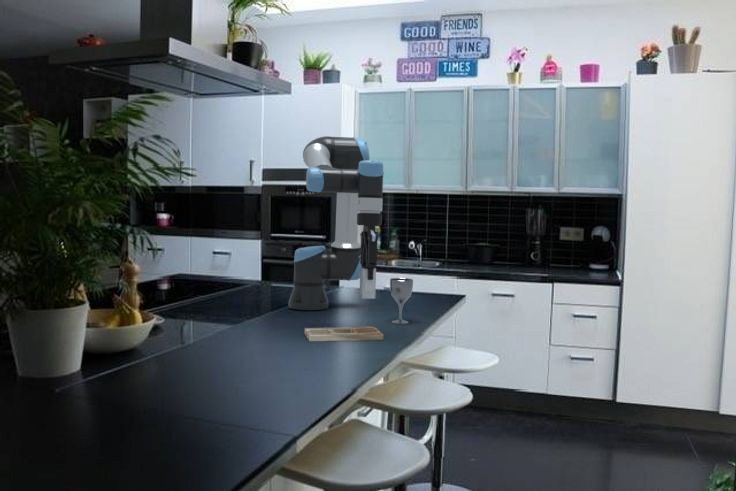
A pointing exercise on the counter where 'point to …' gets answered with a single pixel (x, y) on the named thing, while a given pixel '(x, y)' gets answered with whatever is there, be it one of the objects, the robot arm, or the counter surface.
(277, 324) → the counter surface
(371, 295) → the steel peg
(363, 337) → the hole rail
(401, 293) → the wine glass
